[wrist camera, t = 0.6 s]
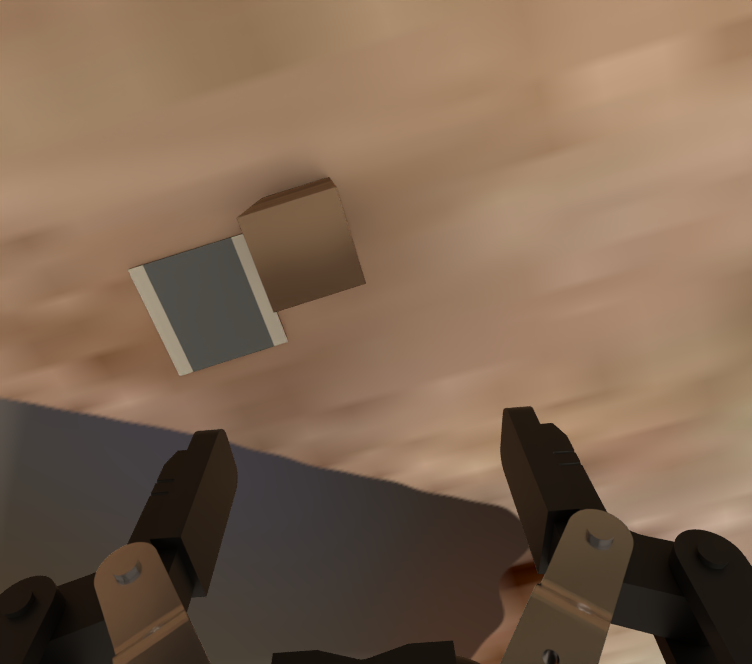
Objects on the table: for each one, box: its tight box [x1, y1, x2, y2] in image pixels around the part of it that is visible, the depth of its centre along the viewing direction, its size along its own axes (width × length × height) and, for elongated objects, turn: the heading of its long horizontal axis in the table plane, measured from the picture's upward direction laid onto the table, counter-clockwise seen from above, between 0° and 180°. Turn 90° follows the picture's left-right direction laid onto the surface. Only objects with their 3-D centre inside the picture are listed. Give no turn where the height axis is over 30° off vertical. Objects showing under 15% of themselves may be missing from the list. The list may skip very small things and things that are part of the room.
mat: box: [128, 234, 288, 376], centre depth 33 cm, size 8×8×1 cm
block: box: [237, 177, 366, 313], centre depth 27 cm, size 4×4×11 cm
